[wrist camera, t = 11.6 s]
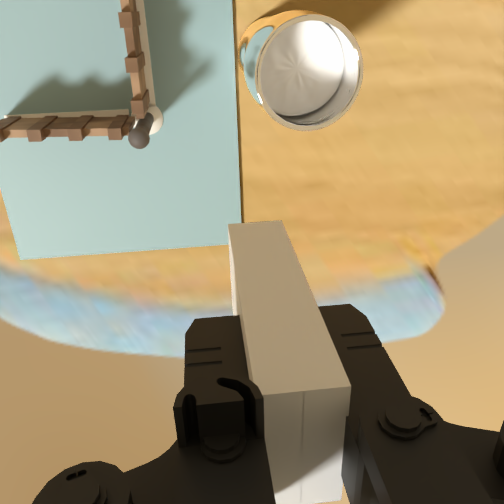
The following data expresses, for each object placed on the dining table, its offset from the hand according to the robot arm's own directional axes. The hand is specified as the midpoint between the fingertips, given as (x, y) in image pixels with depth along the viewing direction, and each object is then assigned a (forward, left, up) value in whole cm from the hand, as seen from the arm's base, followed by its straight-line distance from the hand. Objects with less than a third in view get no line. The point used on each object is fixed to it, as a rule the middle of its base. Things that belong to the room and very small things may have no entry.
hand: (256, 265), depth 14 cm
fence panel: (+2, -12, -32) cm, 34 cm away
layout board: (+2, -9, -32) cm, 34 cm away
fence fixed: (-4, -6, -32) cm, 33 cm away
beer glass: (-3, +5, -33) cm, 33 cm away
